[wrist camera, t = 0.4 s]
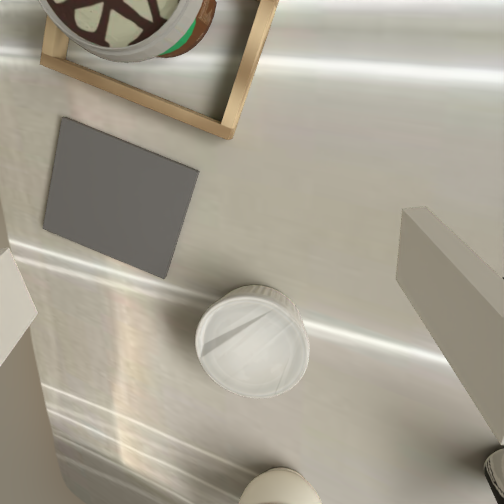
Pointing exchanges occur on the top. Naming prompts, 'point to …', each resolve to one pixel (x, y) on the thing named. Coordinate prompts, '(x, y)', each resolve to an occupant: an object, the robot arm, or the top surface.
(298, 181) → the top surface
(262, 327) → the ramekin
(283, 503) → the lidded jar
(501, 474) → the beverage can
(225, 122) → the oak frame
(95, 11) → the food container
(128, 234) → the charcoal mat
